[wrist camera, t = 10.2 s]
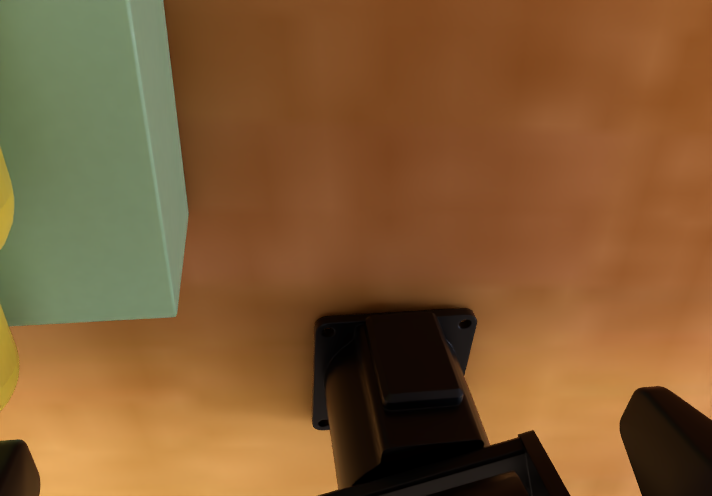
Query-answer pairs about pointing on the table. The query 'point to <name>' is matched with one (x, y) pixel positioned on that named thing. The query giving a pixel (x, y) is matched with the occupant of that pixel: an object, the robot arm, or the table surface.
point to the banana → (3, 353)
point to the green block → (90, 162)
